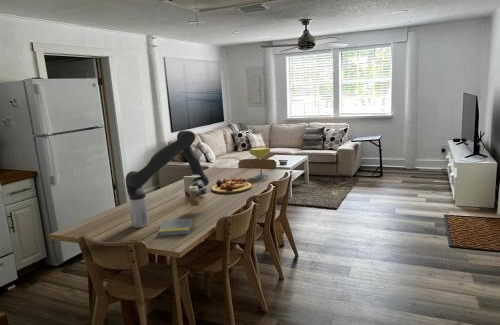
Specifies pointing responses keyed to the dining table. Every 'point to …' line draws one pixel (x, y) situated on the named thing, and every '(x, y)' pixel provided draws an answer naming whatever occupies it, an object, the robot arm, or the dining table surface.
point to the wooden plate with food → (231, 186)
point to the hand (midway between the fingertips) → (193, 195)
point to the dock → (175, 227)
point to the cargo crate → (194, 195)
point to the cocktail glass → (259, 155)
